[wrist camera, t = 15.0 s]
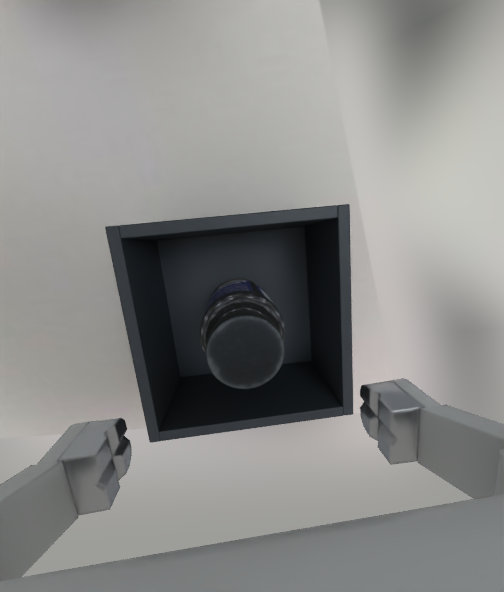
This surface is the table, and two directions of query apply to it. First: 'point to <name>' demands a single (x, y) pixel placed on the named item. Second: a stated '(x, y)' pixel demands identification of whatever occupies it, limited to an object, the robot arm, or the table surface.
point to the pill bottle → (242, 335)
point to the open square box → (194, 300)
